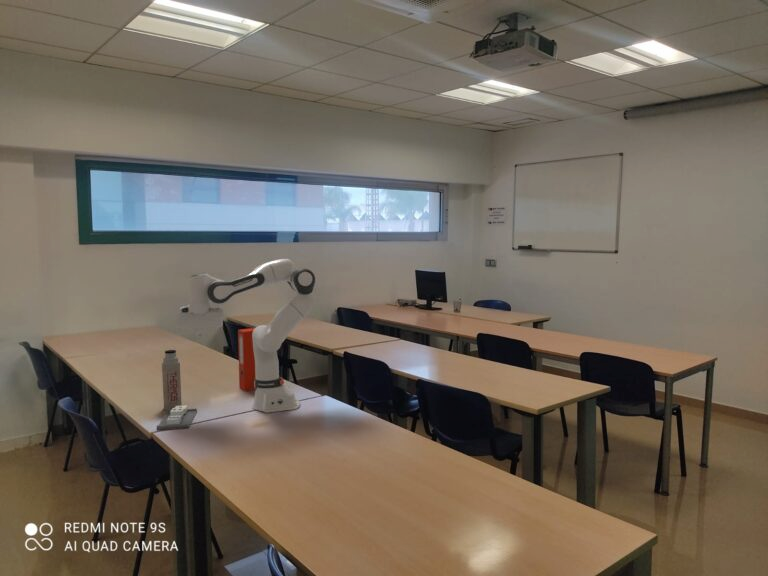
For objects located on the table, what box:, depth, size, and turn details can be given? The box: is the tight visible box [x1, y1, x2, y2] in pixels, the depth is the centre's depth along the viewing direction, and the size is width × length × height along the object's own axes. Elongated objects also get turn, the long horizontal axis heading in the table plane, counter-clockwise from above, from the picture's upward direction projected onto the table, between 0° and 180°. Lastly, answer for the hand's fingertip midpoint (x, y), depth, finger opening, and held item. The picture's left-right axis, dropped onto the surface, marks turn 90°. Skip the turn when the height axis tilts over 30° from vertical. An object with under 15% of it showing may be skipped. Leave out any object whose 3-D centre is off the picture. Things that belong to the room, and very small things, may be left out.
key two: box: [170, 408, 185, 416], centre depth 239 cm, size 5×5×2 cm
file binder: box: [237, 327, 256, 392], centre depth 290 cm, size 8×17×32 cm, turn 126°
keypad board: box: [156, 407, 198, 431], centre depth 239 cm, size 13×21×2 cm, turn 10°
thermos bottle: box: [161, 349, 183, 411], centre depth 255 cm, size 8×8×28 cm
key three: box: [167, 415, 182, 425], centre depth 232 cm, size 5×5×2 cm
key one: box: [175, 404, 189, 414], centre depth 246 cm, size 5×5×2 cm
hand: (200, 337), depth 250 cm, fingers closed
